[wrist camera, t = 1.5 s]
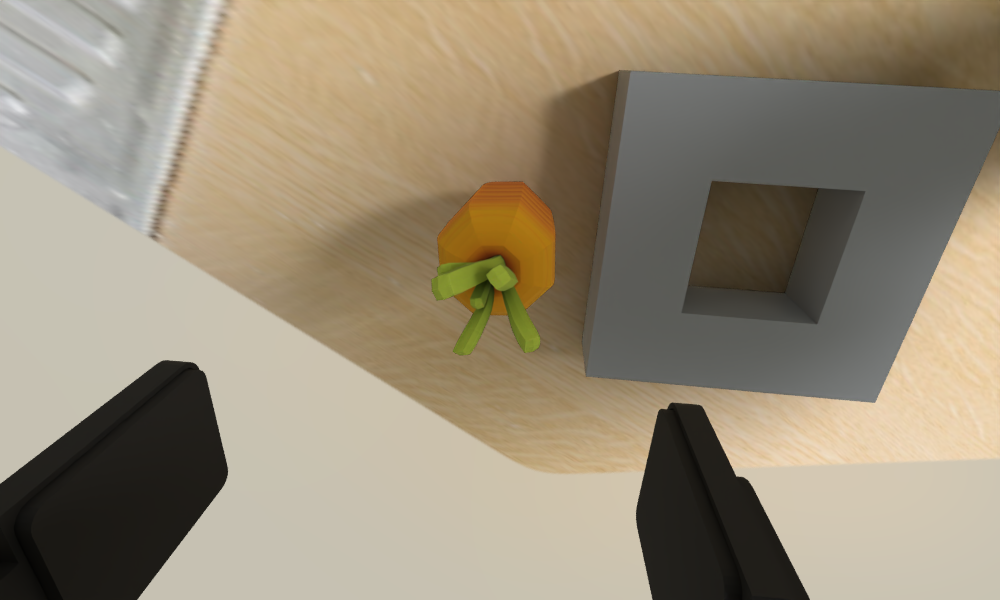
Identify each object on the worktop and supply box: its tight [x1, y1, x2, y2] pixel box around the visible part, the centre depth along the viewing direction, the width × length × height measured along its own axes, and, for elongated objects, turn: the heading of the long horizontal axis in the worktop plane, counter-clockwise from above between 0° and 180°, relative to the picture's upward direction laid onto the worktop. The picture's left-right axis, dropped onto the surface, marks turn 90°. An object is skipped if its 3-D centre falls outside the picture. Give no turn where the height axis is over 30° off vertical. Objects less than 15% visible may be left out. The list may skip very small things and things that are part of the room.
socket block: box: [582, 70, 1000, 403], centre depth 27 cm, size 16×16×4 cm
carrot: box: [431, 182, 555, 355], centre depth 22 cm, size 5×5×15 cm
